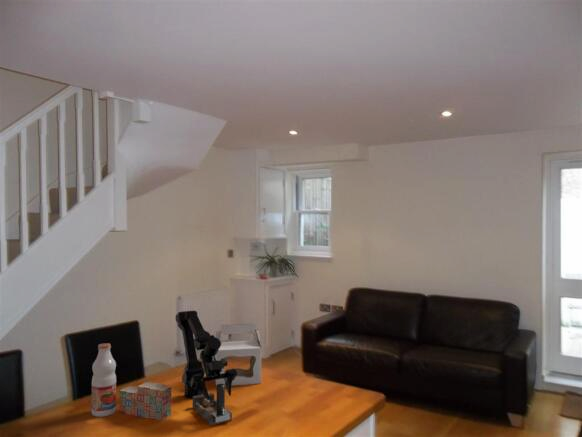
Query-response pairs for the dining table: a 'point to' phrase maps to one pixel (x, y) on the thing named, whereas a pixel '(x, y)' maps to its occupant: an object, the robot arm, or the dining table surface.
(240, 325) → the gable box
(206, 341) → the robot arm
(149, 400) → the stack of blocks
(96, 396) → the fruit juice
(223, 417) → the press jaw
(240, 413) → the dining table surface
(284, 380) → the dining table surface
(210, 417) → the press base
